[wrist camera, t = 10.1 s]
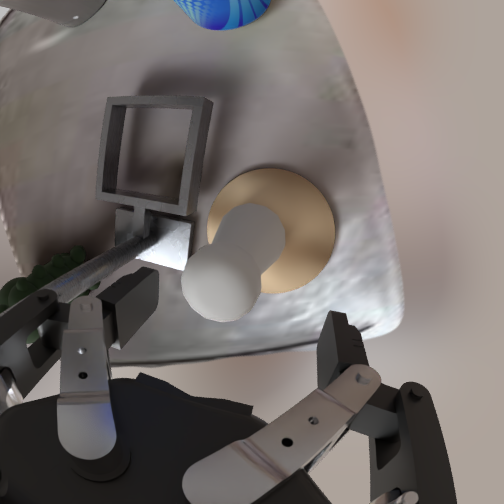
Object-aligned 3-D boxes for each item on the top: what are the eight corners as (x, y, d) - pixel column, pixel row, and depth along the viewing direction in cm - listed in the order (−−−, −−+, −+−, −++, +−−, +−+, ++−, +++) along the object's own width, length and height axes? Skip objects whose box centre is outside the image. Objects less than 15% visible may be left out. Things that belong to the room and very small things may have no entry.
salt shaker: (239, 189, 25) (181, 216, 13) (297, 215, 25) (293, 267, 13) (216, 245, 27) (152, 310, 15) (270, 270, 27) (245, 355, 15)
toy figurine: (101, 214, 31) (18, 284, 36) (-22, 257, 13) (-57, 330, 18) (136, 280, 33) (44, 330, 38) (37, 367, 15) (-23, 388, 20)
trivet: (218, 158, 25) (217, 158, 25) (347, 184, 24) (348, 184, 23) (202, 275, 29) (200, 277, 29) (316, 301, 28) (316, 304, 27)
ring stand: (129, 102, 25) (-63, 80, 4) (218, 105, 24) (14, 12, 3) (116, 248, 30) (-40, 346, 10) (194, 269, 29) (49, 429, 9)
